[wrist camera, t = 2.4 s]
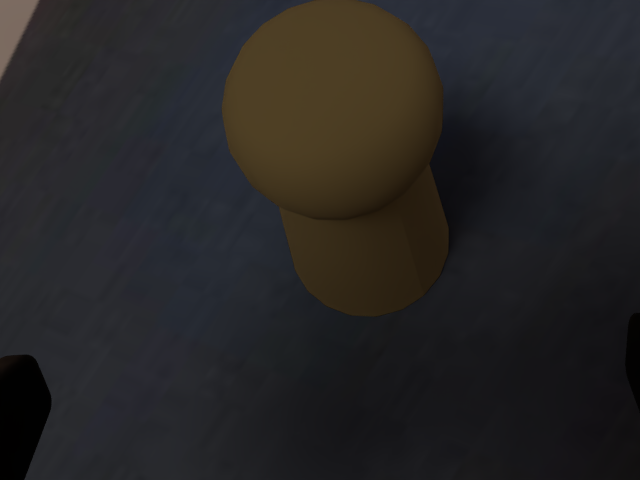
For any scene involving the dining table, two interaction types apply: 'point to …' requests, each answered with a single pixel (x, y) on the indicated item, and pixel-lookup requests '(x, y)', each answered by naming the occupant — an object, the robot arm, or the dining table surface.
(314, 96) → the pepper shaker
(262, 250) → the dining table surface
